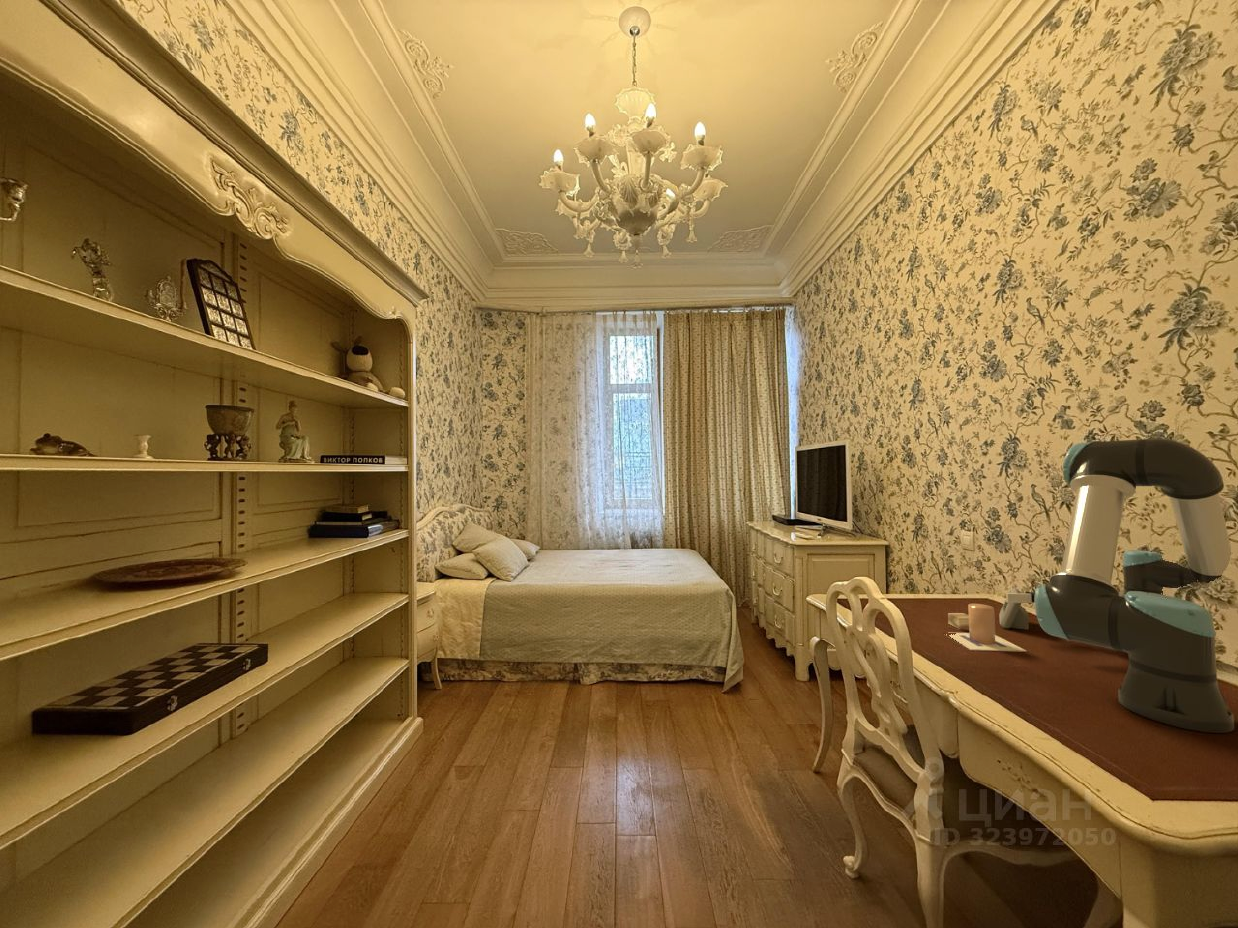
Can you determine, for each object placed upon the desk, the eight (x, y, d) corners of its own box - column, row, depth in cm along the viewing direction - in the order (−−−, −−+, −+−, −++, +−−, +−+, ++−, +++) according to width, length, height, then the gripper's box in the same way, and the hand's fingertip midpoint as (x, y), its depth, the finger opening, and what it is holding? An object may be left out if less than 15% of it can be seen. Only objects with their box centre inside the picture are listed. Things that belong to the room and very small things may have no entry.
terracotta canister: (1000, 644, 133) (999, 609, 133) (977, 644, 133) (976, 609, 134) (986, 637, 139) (985, 603, 139) (965, 637, 139) (963, 603, 140)
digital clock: (1000, 616, 160) (999, 585, 160) (1035, 622, 153) (1034, 589, 153) (988, 626, 149) (987, 593, 150) (1025, 633, 142) (1024, 598, 143)
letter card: (1026, 651, 128) (1026, 650, 128) (971, 650, 130) (971, 649, 130) (992, 634, 142) (992, 633, 142) (942, 633, 144) (942, 632, 144)
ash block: (975, 630, 146) (974, 617, 146) (959, 630, 146) (958, 617, 146) (964, 625, 151) (963, 613, 151) (948, 625, 151) (948, 613, 151)
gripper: (1150, 633, 120) (1059, 630, 122) (1069, 607, 144) (994, 605, 147) (1149, 604, 120) (1057, 601, 122) (1068, 582, 145) (994, 581, 147)
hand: (1023, 603), depth 135 cm, fingers open, 13 cm apart
